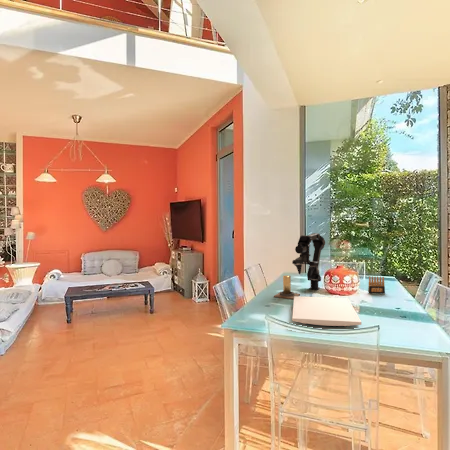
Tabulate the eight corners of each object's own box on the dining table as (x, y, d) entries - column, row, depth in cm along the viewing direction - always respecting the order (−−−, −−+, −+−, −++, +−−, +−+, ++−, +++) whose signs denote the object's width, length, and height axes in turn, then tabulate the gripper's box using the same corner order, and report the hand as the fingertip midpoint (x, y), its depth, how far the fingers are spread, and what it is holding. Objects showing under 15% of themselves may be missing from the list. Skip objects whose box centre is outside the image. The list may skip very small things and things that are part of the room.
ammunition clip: (368, 293, 227) (368, 276, 227) (368, 292, 229) (368, 275, 229) (385, 293, 226) (385, 276, 225) (384, 293, 228) (384, 276, 227)
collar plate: (280, 292, 233) (280, 289, 233) (300, 294, 226) (300, 291, 226) (273, 297, 221) (273, 293, 221) (293, 299, 214) (293, 296, 214)
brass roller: (289, 293, 227) (289, 275, 226) (291, 295, 222) (291, 276, 221) (282, 294, 226) (282, 275, 225) (284, 295, 221) (284, 276, 220)
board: (294, 303, 206) (294, 296, 205) (348, 305, 198) (348, 298, 198) (292, 327, 162) (292, 318, 162) (361, 331, 154) (361, 322, 154)
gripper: (287, 252, 233) (287, 274, 233) (309, 254, 219) (308, 277, 218) (297, 252, 240) (297, 273, 240) (319, 253, 226) (318, 276, 225)
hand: (304, 275), depth 231 cm, fingers open, 9 cm apart
